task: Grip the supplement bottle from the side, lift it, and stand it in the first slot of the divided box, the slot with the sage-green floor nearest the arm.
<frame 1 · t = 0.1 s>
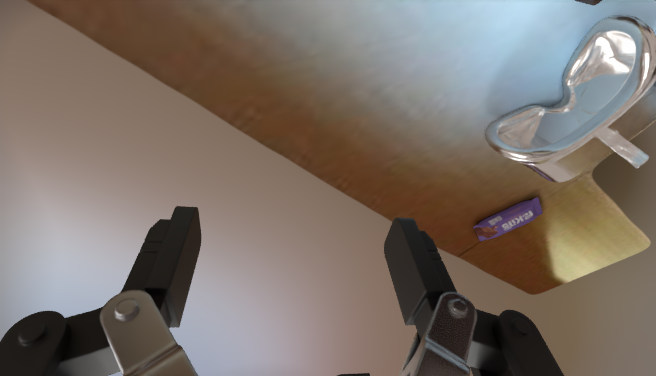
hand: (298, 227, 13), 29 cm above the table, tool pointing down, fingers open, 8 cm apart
snack package: (504, 215, 59), on the table
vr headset: (548, 90, 44), on the table
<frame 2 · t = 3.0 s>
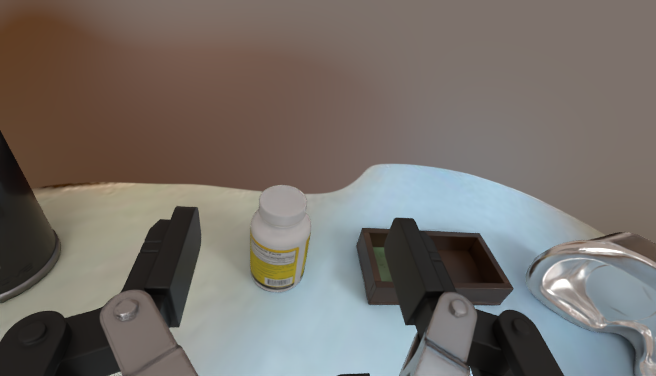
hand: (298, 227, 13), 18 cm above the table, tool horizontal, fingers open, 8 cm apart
divided box: (424, 274, 36), on the table
supplement bottle: (276, 272, 33), on the table
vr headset: (607, 349, 32), on the table
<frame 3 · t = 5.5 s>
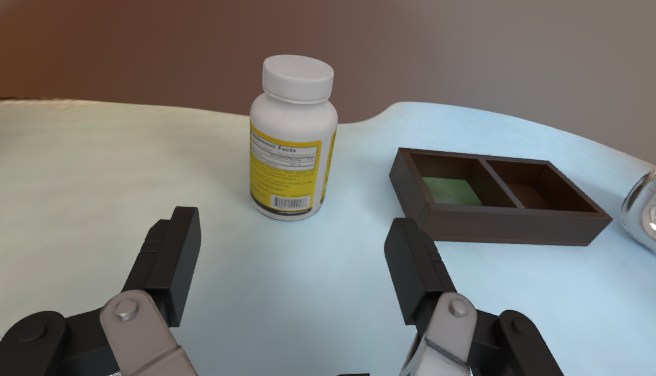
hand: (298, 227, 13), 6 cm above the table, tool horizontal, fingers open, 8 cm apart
divided box: (482, 209, 27), on the table
supplement bottle: (286, 200, 24), on the table
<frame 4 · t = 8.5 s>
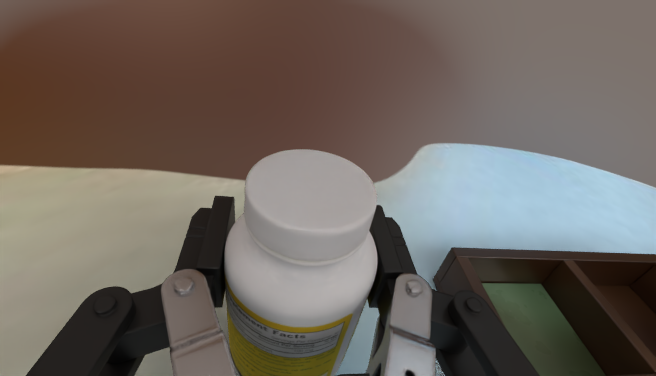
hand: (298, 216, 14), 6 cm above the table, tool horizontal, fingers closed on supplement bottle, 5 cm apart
divided box: (572, 336, 18), on the table
supplement bottle: (286, 344, 16), on the table, touching gripper
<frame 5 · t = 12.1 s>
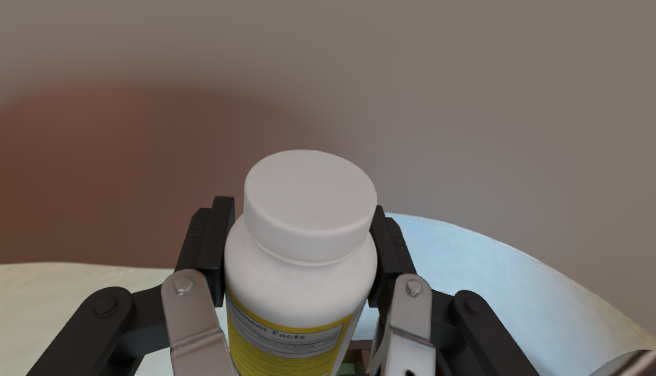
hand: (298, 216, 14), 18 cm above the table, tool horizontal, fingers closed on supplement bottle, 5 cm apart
supplement bottle: (286, 344, 16), point 11 cm above the table, touching gripper
when the fingers open (7 cm above the table, at t = 16.0 s): supplement bottle stays where it is, resting on divided box.
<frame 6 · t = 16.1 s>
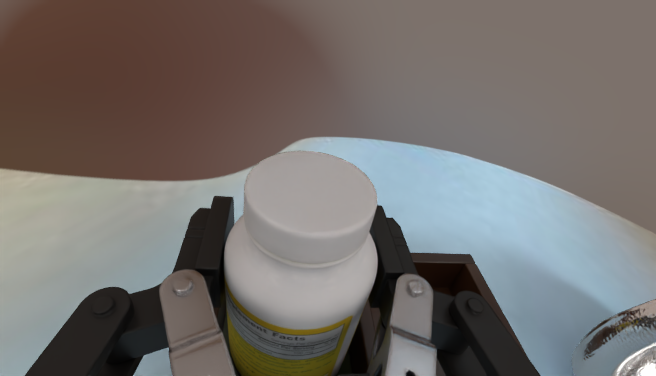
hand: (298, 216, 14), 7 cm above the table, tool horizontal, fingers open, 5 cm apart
divided box: (352, 345, 17), on the table
supplement bottle: (287, 345, 16), point 1 cm above the table, touching divided box
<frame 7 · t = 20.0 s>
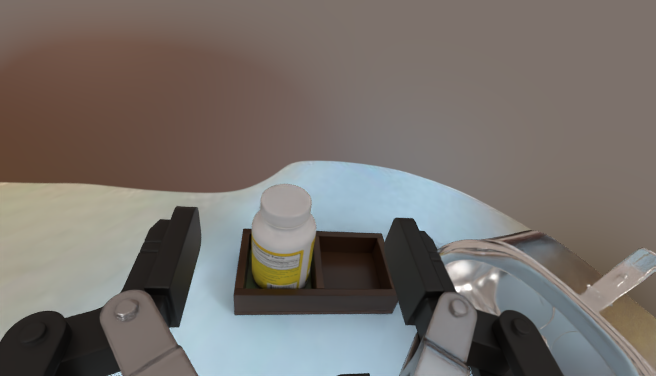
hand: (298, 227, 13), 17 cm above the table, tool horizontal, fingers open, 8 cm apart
divided box: (313, 279, 32), on the table
supplement bottle: (279, 277, 31), point 1 cm above the table, touching divided box
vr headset: (508, 362, 29), on the table
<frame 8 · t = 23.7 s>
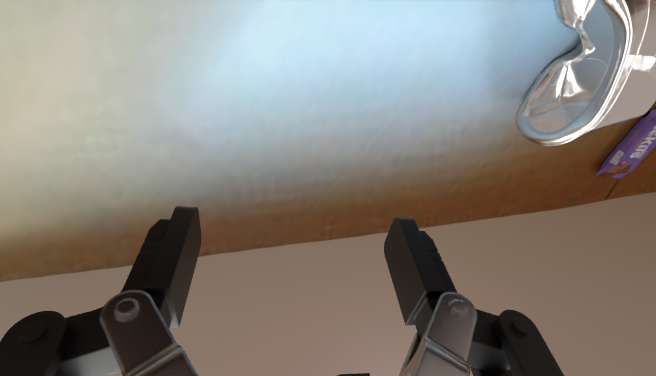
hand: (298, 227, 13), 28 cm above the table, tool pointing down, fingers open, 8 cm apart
snack package: (628, 142, 49), on the table
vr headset: (558, 39, 38), on the table
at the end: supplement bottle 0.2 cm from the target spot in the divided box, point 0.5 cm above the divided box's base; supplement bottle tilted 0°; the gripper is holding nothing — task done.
